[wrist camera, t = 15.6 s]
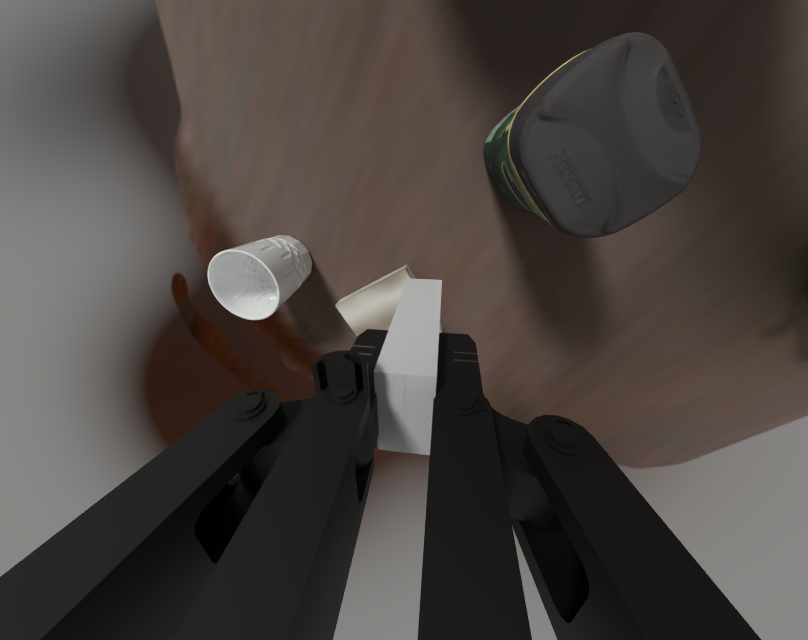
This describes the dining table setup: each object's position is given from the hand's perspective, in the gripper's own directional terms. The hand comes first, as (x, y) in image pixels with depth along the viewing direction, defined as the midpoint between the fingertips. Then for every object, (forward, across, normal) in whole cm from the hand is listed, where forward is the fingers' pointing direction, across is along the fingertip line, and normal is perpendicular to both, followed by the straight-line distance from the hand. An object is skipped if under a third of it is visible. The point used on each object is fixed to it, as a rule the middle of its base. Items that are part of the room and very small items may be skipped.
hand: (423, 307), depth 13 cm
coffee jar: (+25, +9, +6) cm, 27 cm away
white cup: (+25, -20, -6) cm, 32 cm away
